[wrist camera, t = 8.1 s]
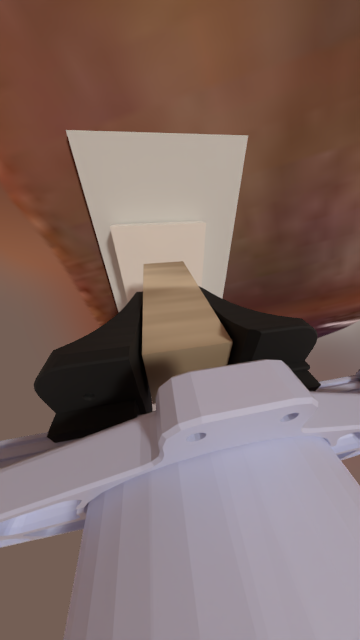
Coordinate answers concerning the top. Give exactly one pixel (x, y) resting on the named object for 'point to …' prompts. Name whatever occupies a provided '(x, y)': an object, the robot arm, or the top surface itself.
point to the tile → (157, 249)
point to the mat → (161, 190)
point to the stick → (178, 325)
